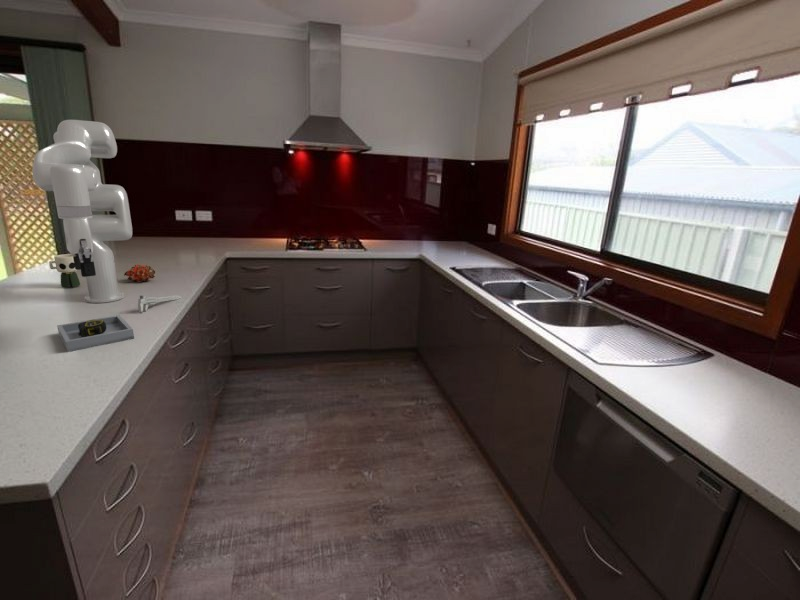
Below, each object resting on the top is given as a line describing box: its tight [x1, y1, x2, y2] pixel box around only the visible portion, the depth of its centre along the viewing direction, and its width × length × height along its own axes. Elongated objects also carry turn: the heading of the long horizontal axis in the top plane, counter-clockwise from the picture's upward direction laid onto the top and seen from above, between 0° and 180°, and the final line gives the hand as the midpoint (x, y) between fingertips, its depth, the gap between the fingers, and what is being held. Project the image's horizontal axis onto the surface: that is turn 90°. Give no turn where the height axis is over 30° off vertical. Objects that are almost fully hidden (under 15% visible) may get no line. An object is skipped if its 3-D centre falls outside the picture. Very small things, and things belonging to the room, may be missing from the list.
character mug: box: [48, 253, 81, 288], centre depth 170 cm, size 11×7×13 cm, turn 129°
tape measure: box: [78, 319, 106, 337], centre depth 125 cm, size 7×7×4 cm
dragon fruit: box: [123, 263, 156, 284], centre depth 184 cm, size 8×8×12 cm
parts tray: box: [56, 314, 135, 353], centre depth 126 cm, size 16×16×3 cm
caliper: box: [137, 294, 183, 314], centre depth 156 cm, size 21×1×6 cm, turn 169°
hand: (85, 272), depth 120 cm, fingers open, 9 cm apart
